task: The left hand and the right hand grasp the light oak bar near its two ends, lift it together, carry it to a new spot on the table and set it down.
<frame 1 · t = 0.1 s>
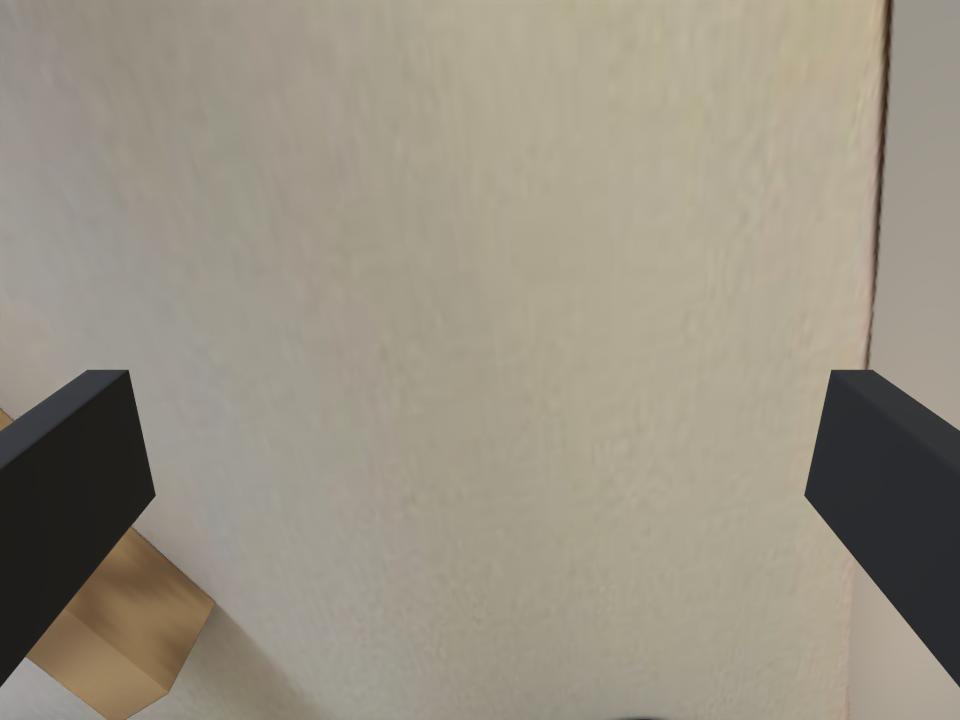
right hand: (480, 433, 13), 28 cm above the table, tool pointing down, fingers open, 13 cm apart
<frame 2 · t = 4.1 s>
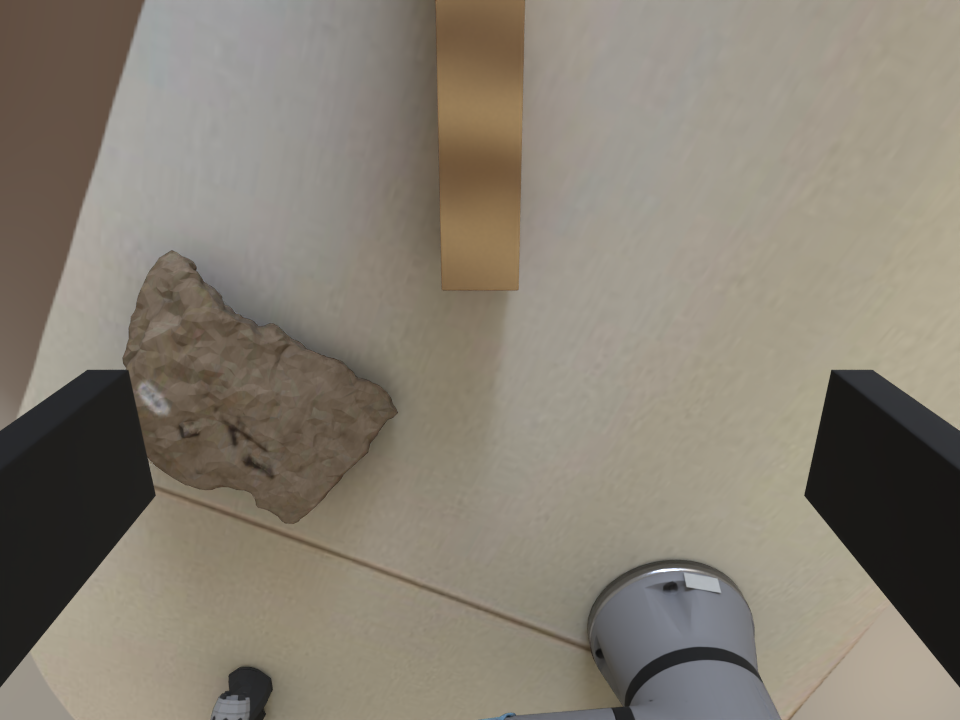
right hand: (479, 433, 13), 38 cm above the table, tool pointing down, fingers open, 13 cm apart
robot: (248, 695, 67), on the table
stone: (258, 384, 54), on the table
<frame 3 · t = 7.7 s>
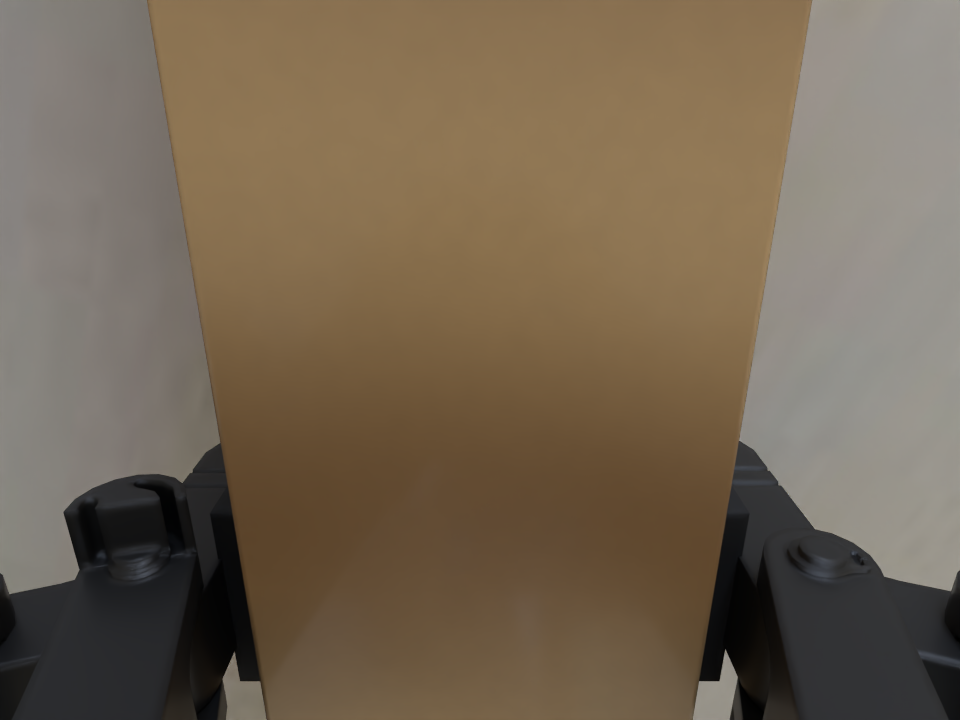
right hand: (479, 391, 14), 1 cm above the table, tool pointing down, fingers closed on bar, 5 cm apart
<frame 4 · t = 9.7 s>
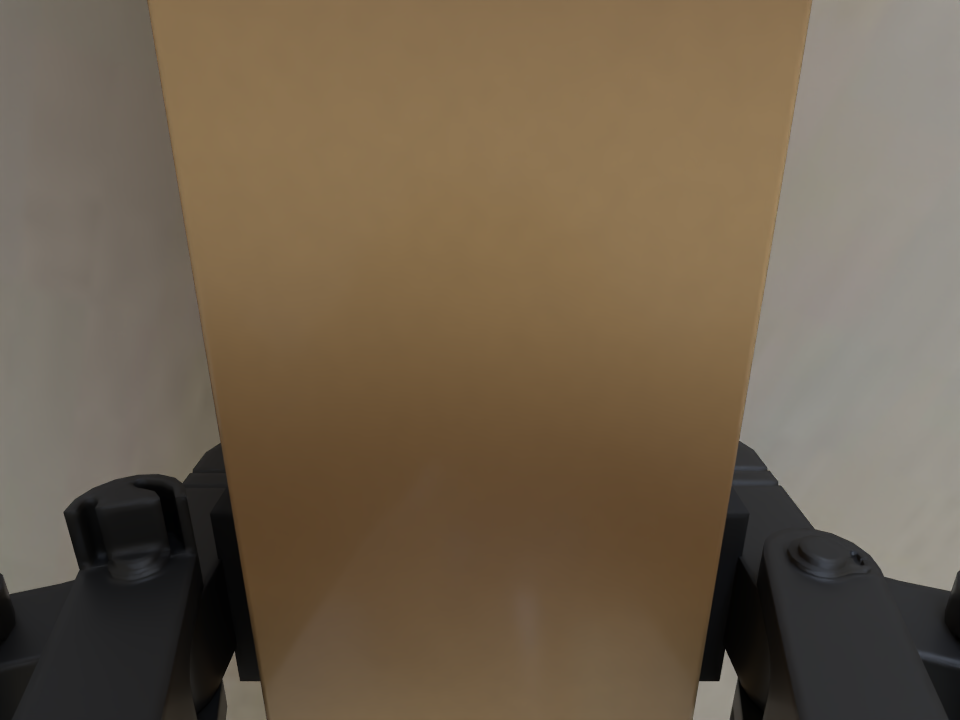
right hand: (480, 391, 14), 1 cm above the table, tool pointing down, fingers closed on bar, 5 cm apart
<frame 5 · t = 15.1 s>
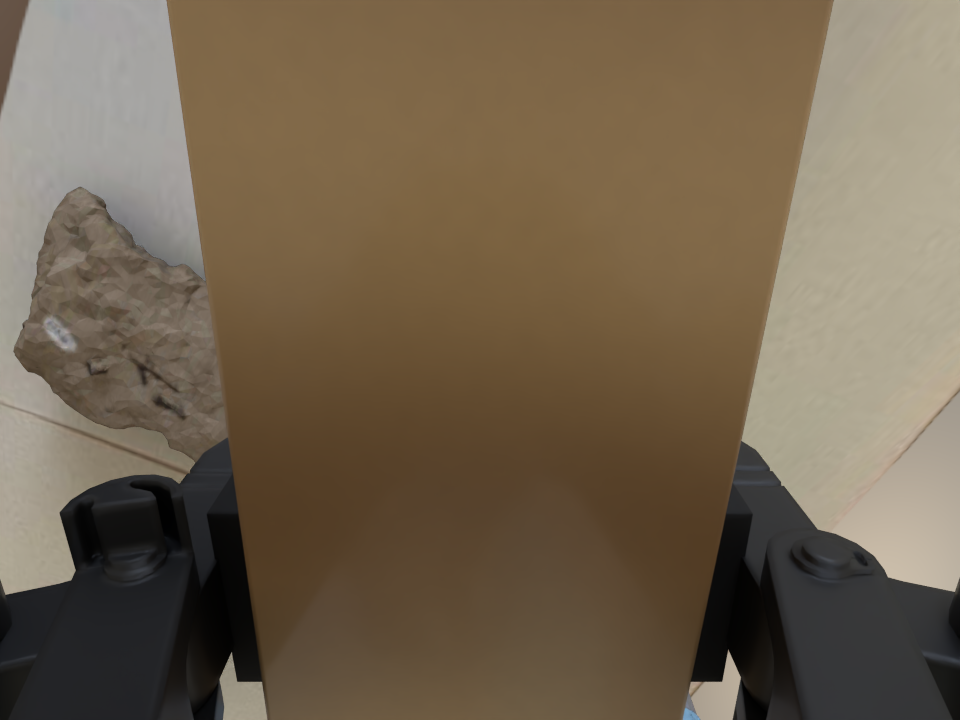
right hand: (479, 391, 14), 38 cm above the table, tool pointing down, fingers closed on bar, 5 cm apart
stone: (175, 328, 55), on the table
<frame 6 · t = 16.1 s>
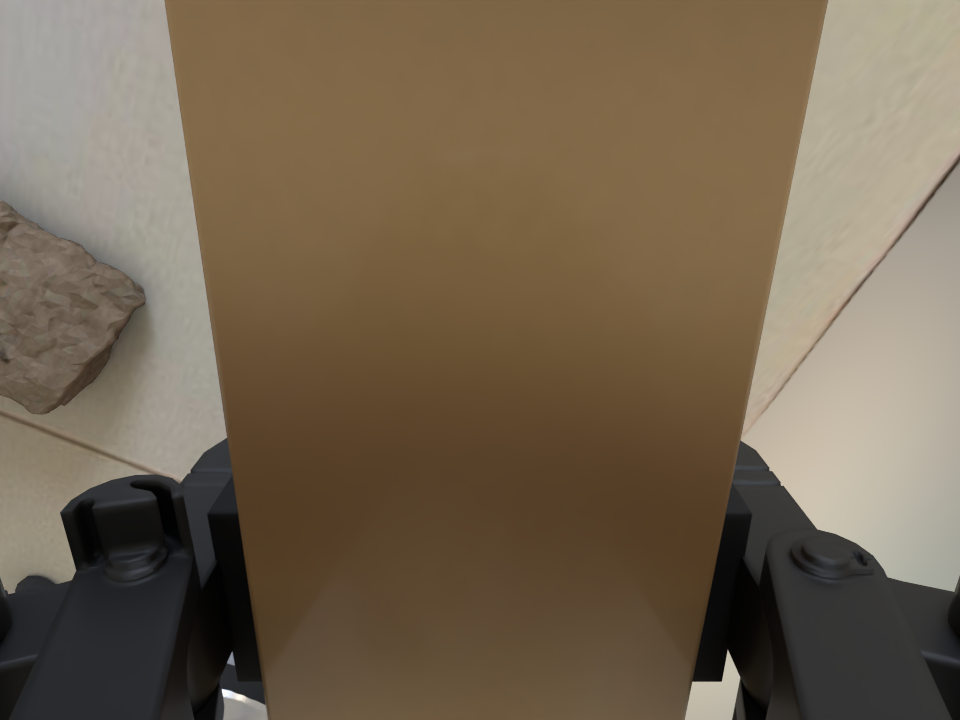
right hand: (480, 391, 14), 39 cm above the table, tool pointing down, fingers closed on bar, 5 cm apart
robot: (42, 606, 66), on the table
stone: (7, 272, 53), on the table
when the right hand's fingers open (2 cm above the table, at t = 22.6 s): bar drops 1 cm, on the table.
when the left hand's fingers open (5 cm above the table, at t = 22.8 s): bar stays where it is, on the table.
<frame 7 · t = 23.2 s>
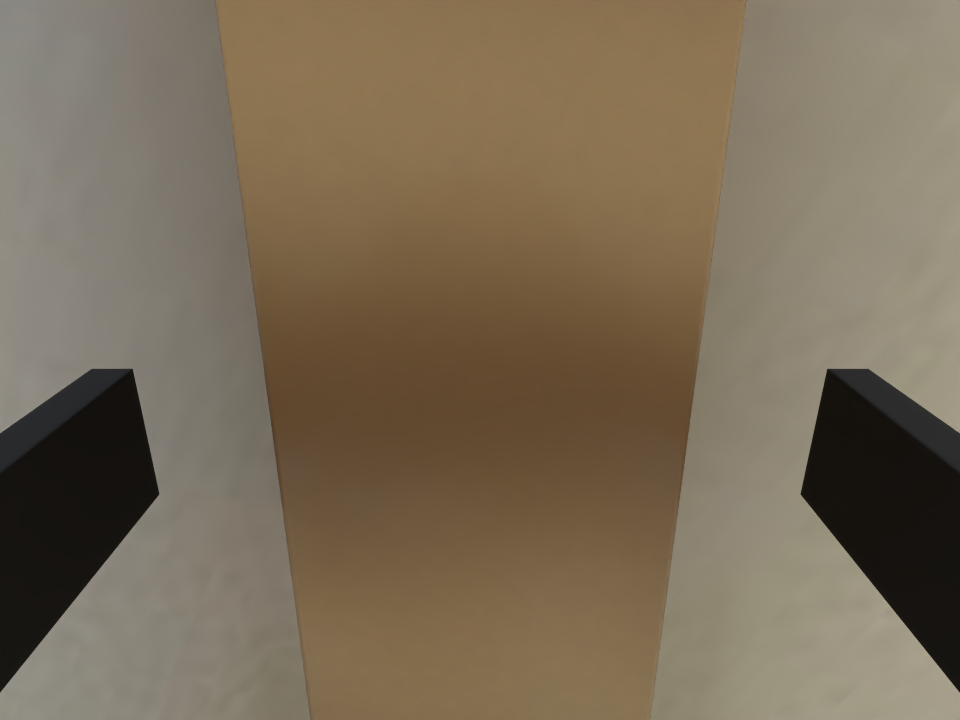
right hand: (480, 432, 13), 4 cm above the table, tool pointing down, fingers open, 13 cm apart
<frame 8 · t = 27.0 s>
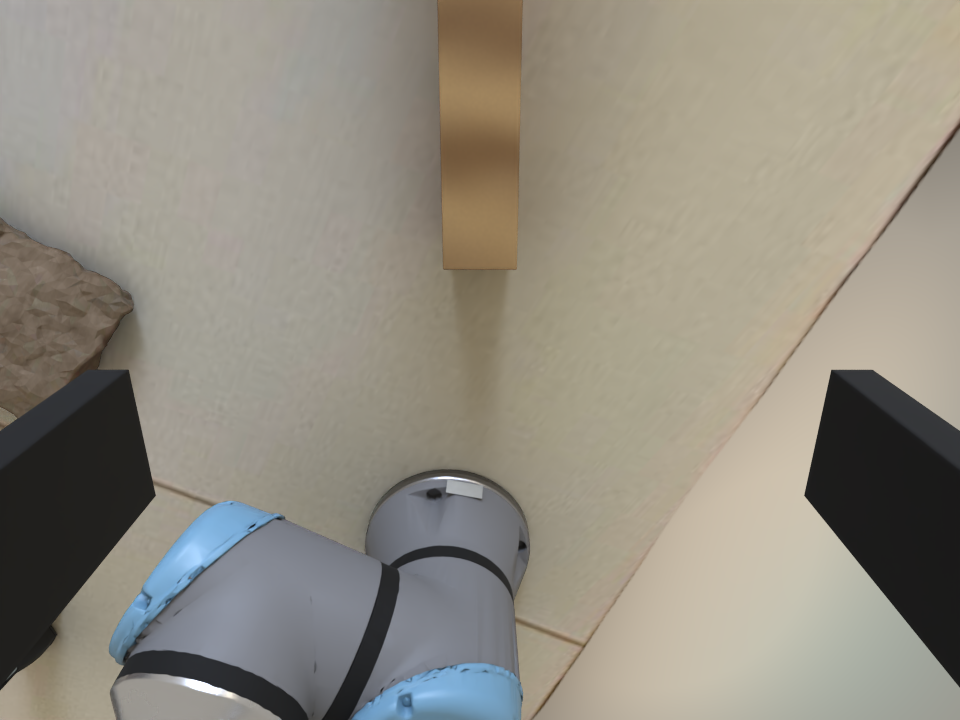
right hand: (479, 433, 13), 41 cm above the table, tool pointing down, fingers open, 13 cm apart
robot: (37, 615, 66), on the table
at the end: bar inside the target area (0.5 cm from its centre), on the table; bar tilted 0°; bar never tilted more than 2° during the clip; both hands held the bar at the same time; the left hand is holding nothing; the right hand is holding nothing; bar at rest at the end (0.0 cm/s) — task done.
